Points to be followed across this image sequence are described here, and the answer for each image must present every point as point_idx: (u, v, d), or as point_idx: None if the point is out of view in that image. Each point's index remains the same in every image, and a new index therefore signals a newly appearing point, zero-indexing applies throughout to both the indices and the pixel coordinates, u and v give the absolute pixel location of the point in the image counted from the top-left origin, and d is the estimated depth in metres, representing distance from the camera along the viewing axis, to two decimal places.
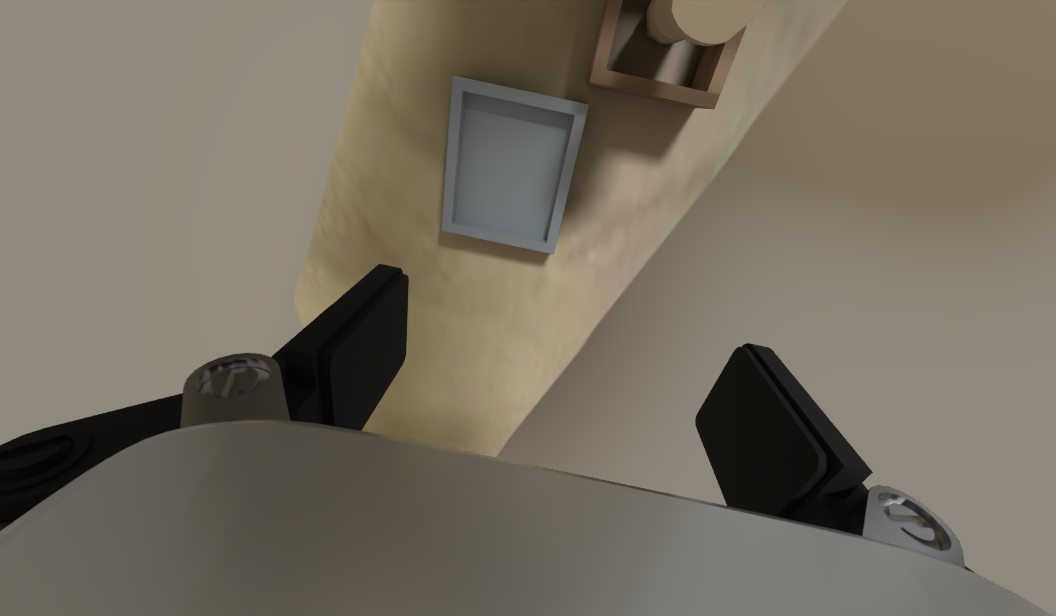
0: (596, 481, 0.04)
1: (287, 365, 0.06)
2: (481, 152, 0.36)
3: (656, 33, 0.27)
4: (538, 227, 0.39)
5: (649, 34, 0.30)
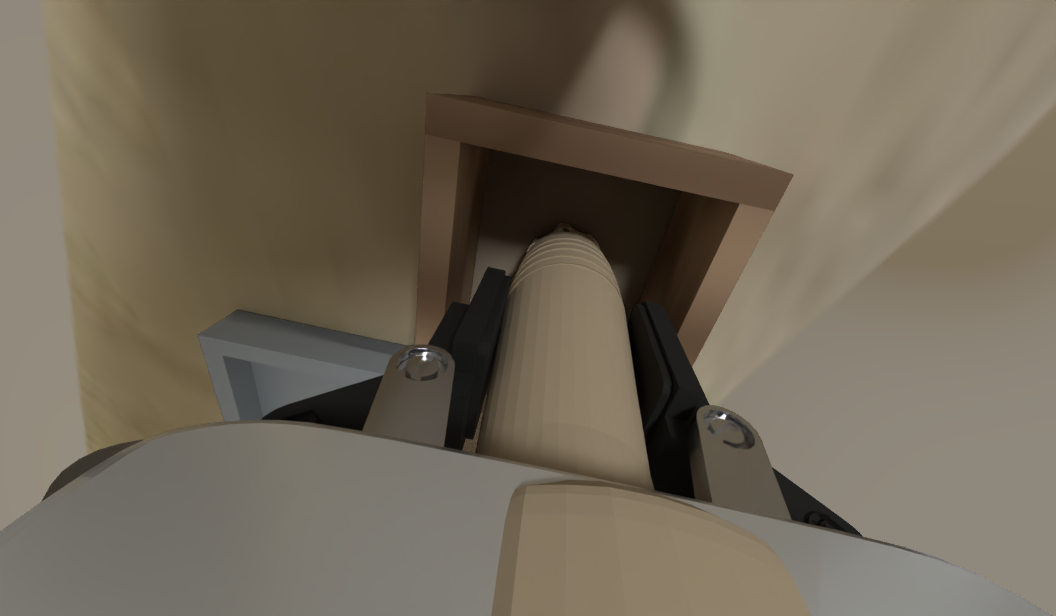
0: None
1: (453, 354, 0.07)
2: None
3: None
4: None
5: None
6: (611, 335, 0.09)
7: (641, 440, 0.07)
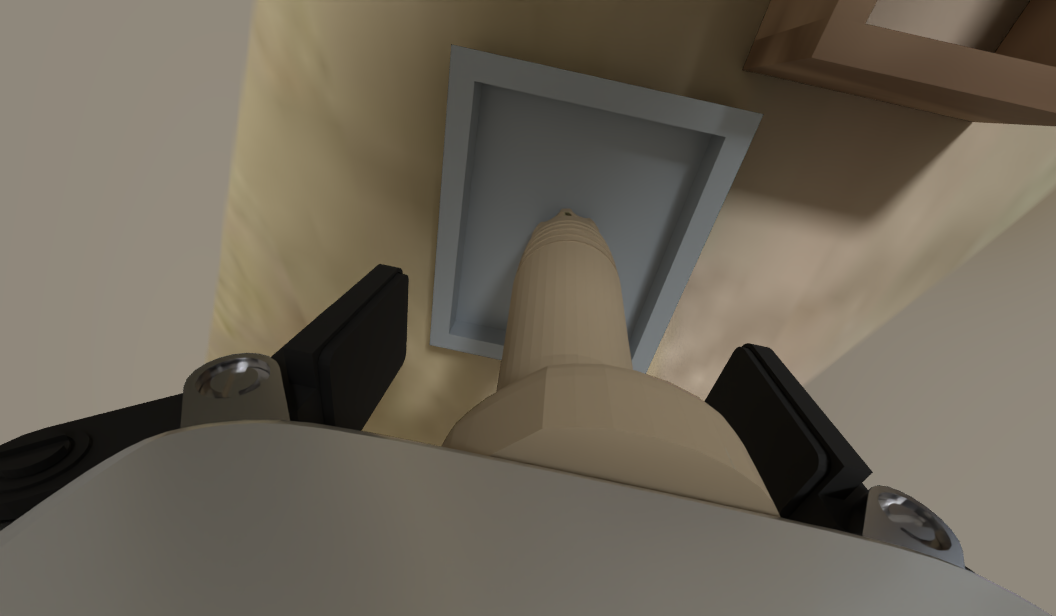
0: (596, 481, 0.04)
1: (287, 365, 0.06)
2: (509, 206, 0.18)
3: None
4: None
5: None
6: (607, 297, 0.10)
7: None
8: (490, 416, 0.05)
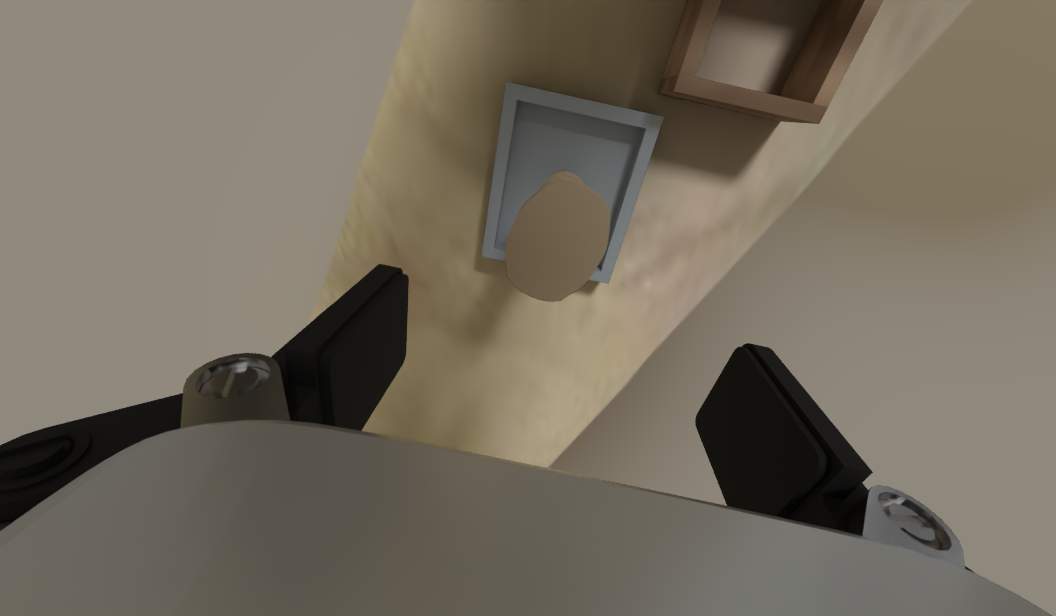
0: (596, 481, 0.04)
1: (287, 365, 0.06)
2: (531, 169, 0.32)
3: None
4: None
5: None
6: None
7: None
8: (535, 193, 0.19)
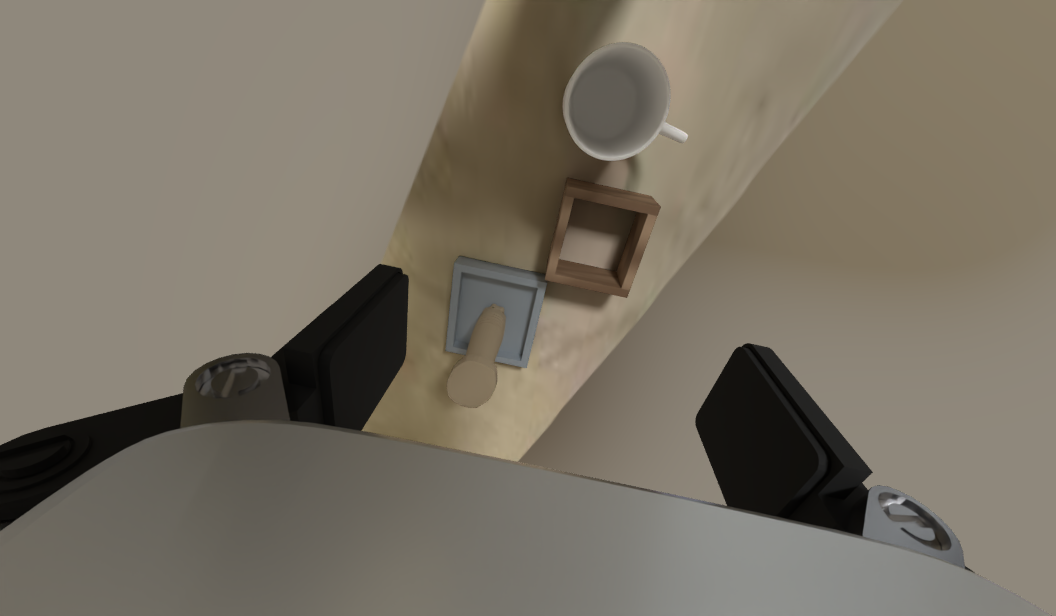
0: (596, 481, 0.04)
1: (287, 365, 0.06)
2: (474, 302, 0.51)
3: None
4: (515, 348, 0.54)
5: None
6: (491, 340, 0.43)
7: (490, 357, 0.41)
8: (460, 361, 0.38)
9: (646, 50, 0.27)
